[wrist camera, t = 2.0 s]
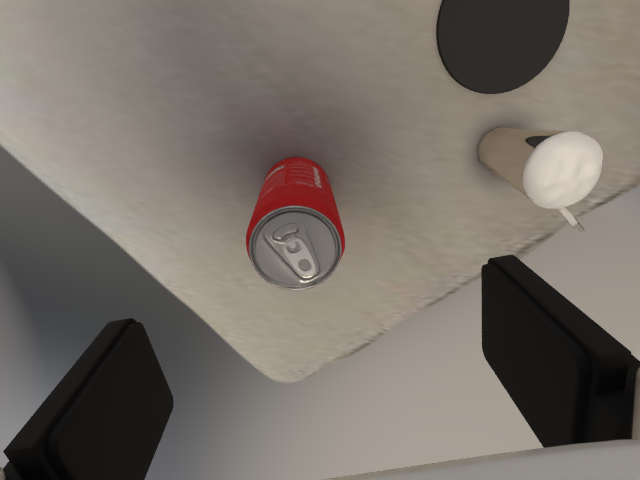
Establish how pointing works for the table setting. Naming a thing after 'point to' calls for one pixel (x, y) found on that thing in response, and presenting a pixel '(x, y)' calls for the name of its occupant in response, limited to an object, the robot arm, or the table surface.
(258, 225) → the beverage can
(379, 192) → the table surface
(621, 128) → the table surface
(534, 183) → the milkshake
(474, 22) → the coaster
